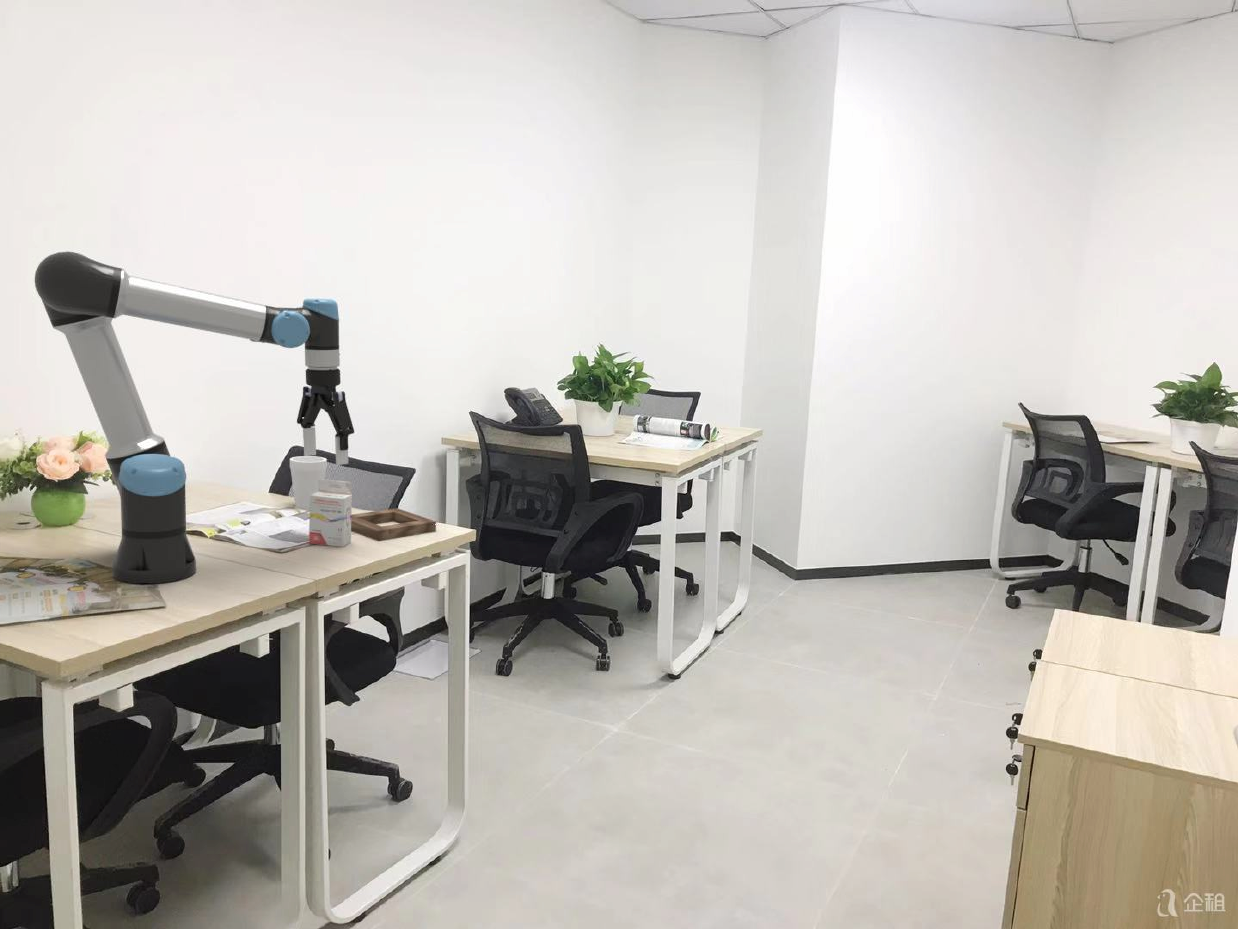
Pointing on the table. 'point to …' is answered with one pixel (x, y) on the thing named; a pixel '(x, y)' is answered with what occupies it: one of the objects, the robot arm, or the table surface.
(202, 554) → the table surface
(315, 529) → the ink cartridge box
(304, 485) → the foam cup
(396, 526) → the square wooden frame
